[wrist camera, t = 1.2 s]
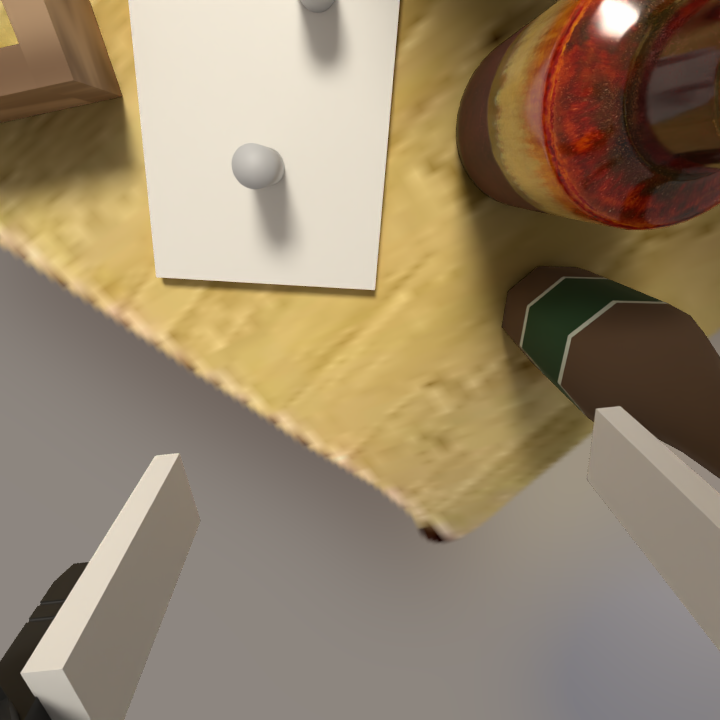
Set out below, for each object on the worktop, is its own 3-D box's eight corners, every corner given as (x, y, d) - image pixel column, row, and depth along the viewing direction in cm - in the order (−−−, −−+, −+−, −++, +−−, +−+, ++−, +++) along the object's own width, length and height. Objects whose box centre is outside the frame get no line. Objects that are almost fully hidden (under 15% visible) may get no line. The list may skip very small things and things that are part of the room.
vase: (447, 48, 30) (642, -159, 11) (613, 14, 29) (1109, -257, 11) (462, 219, 34) (621, 284, 15) (607, 191, 33) (954, 221, 15)
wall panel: (127, -69, 26) (67, -138, 20) (401, -38, 28) (419, -95, 22) (161, 274, 34) (124, 296, 28) (373, 286, 35) (381, 311, 29)
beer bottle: (509, 366, 39) (743, 632, 17) (487, 281, 36) (736, 467, 14) (600, 335, 38) (971, 569, 16) (585, 245, 35) (1016, 379, 13)
